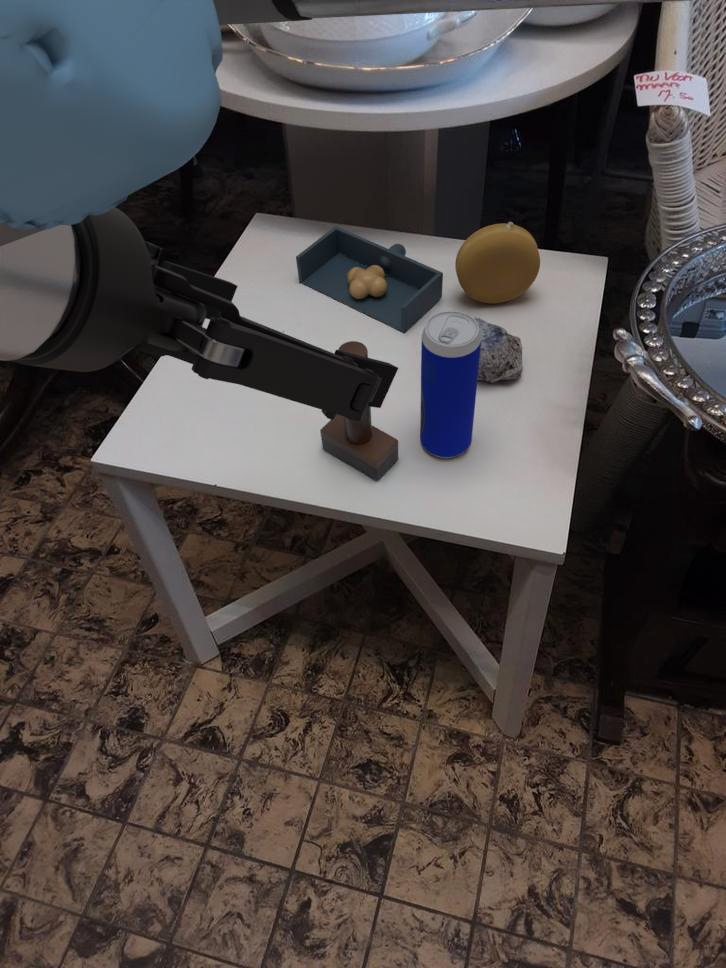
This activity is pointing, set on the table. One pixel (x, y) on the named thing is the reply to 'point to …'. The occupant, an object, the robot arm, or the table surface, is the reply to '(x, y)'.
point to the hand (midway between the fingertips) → (301, 341)
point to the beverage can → (449, 382)
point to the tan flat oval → (497, 263)
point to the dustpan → (330, 269)
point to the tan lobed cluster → (367, 282)
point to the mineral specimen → (498, 353)
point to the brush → (360, 436)
